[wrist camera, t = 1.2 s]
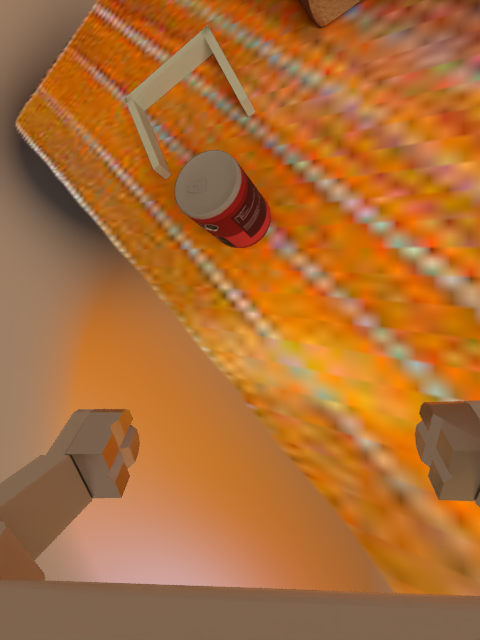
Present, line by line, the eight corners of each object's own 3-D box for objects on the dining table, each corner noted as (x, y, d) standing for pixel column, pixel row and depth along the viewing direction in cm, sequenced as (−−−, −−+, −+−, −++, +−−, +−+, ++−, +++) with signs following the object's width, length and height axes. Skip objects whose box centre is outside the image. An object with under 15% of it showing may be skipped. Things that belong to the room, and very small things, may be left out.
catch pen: (217, 42, 54) (207, 25, 51) (255, 111, 50) (247, 96, 47) (137, 110, 59) (124, 98, 56) (165, 179, 54) (153, 169, 52)
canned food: (212, 212, 50) (166, 172, 40) (262, 185, 47) (227, 134, 38) (227, 259, 48) (183, 229, 38) (280, 233, 45) (248, 194, 35)
